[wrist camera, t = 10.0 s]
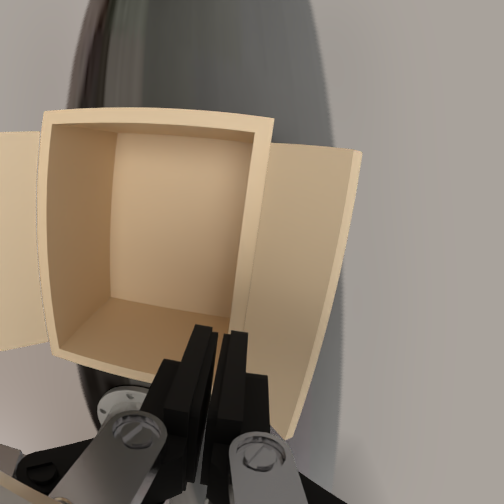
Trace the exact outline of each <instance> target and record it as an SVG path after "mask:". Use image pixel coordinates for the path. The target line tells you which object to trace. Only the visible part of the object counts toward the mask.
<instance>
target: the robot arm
mask: <svg viewBox="0 0 504 504" xmlns="http://www.w3.org/2000/svg"><path fill="white" fill-rule="evenodd" d="M212 329H213V327H210V326H204V325H198V324H195V326H194V329H193V331H192V334H191V336H190V339H189V341H188V344H187V347H186V349H185V352H184V354H183V357H182V360H181V362H180V361H175V360H170V359H163V361H162V362H161V365H160V367H159V369H158V371H157V373H156V375H155V377H154V380H153V382H152V384H151V386H150V388H149V389H146V388H143V387H136V386H121V387H115V388H113V389H111V390H109V391H107V392H106V393H105V394H104V395H103V397H102V398H101V400H100V401H99V404H98V407H97V414H98V419H99V421H100V423H101V425H102V426H101V428H100V430H99V432H98V433H97V435H96V437H95V438H92V439H89V440H85V441H82V442H77V443H73V444H69V445H65V446H61V447H57V448H52V449H47V450H43V451H38V452H34V453H31V454H28V455H24V454H22V452H21V450H18V449H15V448H11V447H9V446H6V445H2V444H0V504H169V503H170V499H171V498H172V497H174V496H176V495H179V494H181V493H182V490H183V491H185V490H186V485H187V482H192V483H194V482H195V477H196V472H197V466H198V461H199V456H200V451H201V446H202V440H203V435H204V430H205V425H206V432H205V442H204V451H203V461H202V471H201V481H200V484H203V485H208V487H207V494H206V498H207V499H208V500H209V501H210V502H211V503H213V504H347V503H345V502H344V501H342V500H340V499H339V498H337V497H336V496H334V495H333V494H331V493H329V492H328V491H326V490H325V489H323V488H322V487H320V486H319V485H317V484H316V483H314V482H313V481H311V480H310V479H309V478H307V477H306V476H304V475H303V474H301V473H300V472H299V471H298V470H297V467H296V463H295V460H294V457H293V454H292V451H291V449H290V447H289V445H288V444H287V443H286V442H284V441H283V440H282V439H280V438H279V437H277V436H275V435H272V434H270V415H269V388H268V376H267V375H261V374H253V373H246V363H247V347H248V332H241V331H234V330H231V334H225V333H224V335H223V340H222V345H221V350H220V355H219V360H218V365H217V370H216V375H215V380H214V385H213V390H212V382H213V374H214V365H215V357H216V349H217V341H218V332H212ZM211 390H212V395H211ZM210 398H211V400H210ZM209 404H210V405H209ZM207 415H208V416H207ZM206 420H207V423H206Z"/></svg>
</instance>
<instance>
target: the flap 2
mask: <svg viewBox="0 0 504 504" xmlns="http://www.w3.org/2000/svg"><path fill="white" fill-rule="evenodd" d="M361 159H362V152H360V151H357V150H353V149H343V148H335V147H324V146H312V145H299V144H283V143H271V146H270V153H269V160H268V167H267V174H266V181H265V188H264V195H263V202H262V209H261V216H260V223H259V229H258V236H257V243H256V250H255V257H254V264H253V271H252V278H251V284H250V291H249V298H248V305H247V312H246V319H245V325H244V332H248V347H247V363H246V373H253V374H261V375H267V376H268V388H269V415H270V425H271V426H272V427H273V428H274V429H275V430H276V431H277V433H278V434H279V435H280V436H281V437H282V438H283V439H284V440H287V439H289V438H291V437H293V434H294V431H295V429H296V426H297V423H298V420H299V417H300V414H301V411H302V408H303V405H304V402H305V399H306V396H307V393H308V389H309V386H310V383H311V380H312V376H313V373H314V370H315V366H316V363H317V360H318V356H319V353H320V349H321V346H322V342H323V338H324V335H325V331H326V327H327V324H328V320H329V316H330V312H331V308H332V304H333V300H334V296H335V292H336V288H337V284H338V279H339V275H340V271H341V266H342V262H343V257H344V253H345V248H346V243H347V238H348V233H349V228H350V223H351V217H352V212H353V207H354V202H355V196H356V190H357V184H358V178H359V172H360V165H361Z"/></svg>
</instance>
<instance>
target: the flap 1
mask: <svg viewBox="0 0 504 504" xmlns="http://www.w3.org/2000/svg"><path fill="white" fill-rule="evenodd" d="M39 138H40V131H37V132H36V131H32V132H31V131H30V132H0V351H4V350H10V349H15V348H20V347H25V346H30V345H35V344H39V343H45V342H48V336H47V331H46V325H45V319H44V312H43V305H42V298H41V290H40V281H39V270H38V259H37V241H36V178H37V160H38V148H39Z"/></svg>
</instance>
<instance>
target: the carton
mask: <svg viewBox="0 0 504 504" xmlns="http://www.w3.org/2000/svg"><path fill="white" fill-rule="evenodd" d="M273 124H274V118H268V117H260V116H252V115H244V114H235V113H226V112H215V111H203V110H189V109H170V108H84V109H67V110H53V111H45V112H44V115H43V122H42V130H41V139H40V149H39V162H38V179H37V180H38V181H37V239H38V258H39V270H40V281H41V289H42V298H43V306H44V312H45V319H46V325H47V331H48V336H49V341H50V346H51V352H52V355H54V356H57V357H60V358H62V359H65V360H68V361H71V362H74V363H78V364H81V365H84V366H87V367H91V368H94V369H97V370H101V371H104V372H108V373H112V374H115V375H119V376H123V377H127V378H131V379H135V380H139V381H143V382H148V383H152V382H153V380H154V377H155V375H156V373H157V371H158V369H159V367H160V365H161V362H162V361H163V359H170V360H175V361H180V362H181V360H182V357H183V354H184V352H185V349H186V347H187V344H188V341H189V339H190V336H191V334H192V331H193V329H194V326H195V324H198V325H204V326H210V327H213V329H212V332H218V341H217V349H216V357H215V365H214V374H213V382H212V390H213V385H214V380H215V375H216V370H217V365H218V360H219V355H220V350H221V345H222V340H223V335H224V333H225V334H231V330H234V331H241V332H243V331H244V324H245V318H246V311H247V304H248V297H249V290H250V283H251V277H252V270H253V263H254V256H255V249H256V242H257V235H258V228H259V221H260V215H261V208H262V201H263V194H264V187H265V180H266V173H267V166H268V159H269V152H270V145H271V138H272V131H273ZM212 390H211V395H212Z"/></svg>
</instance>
